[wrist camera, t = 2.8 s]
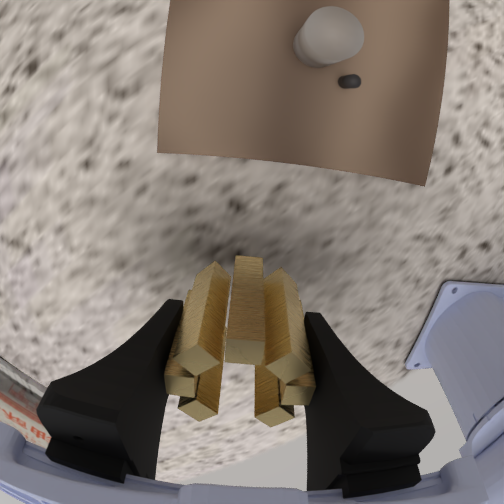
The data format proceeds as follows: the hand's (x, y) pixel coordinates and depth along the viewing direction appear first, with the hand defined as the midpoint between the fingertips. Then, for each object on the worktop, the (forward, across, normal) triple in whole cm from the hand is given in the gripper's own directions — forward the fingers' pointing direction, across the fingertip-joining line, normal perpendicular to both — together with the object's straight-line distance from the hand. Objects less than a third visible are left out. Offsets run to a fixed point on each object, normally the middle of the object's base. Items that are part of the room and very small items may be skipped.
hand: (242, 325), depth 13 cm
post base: (+5, -2, -12) cm, 13 cm away
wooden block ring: (+1, 0, 0) cm, 1 cm away
